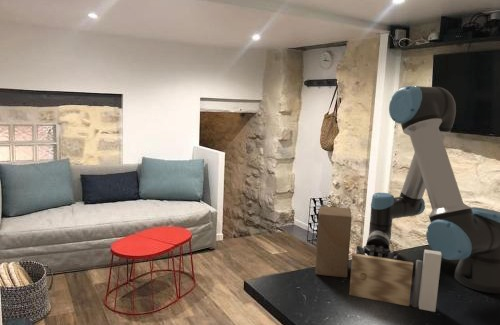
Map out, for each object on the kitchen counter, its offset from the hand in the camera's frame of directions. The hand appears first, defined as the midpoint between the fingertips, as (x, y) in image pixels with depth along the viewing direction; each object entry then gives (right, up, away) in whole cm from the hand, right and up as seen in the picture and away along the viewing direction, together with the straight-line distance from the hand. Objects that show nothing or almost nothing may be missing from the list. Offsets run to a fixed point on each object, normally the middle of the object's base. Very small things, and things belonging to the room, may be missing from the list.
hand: (372, 272), depth 114 cm
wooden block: (-8, -4, +17) cm, 19 cm away
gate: (+1, -7, -2) cm, 7 cm away
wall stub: (+13, -8, -6) cm, 16 cm away
